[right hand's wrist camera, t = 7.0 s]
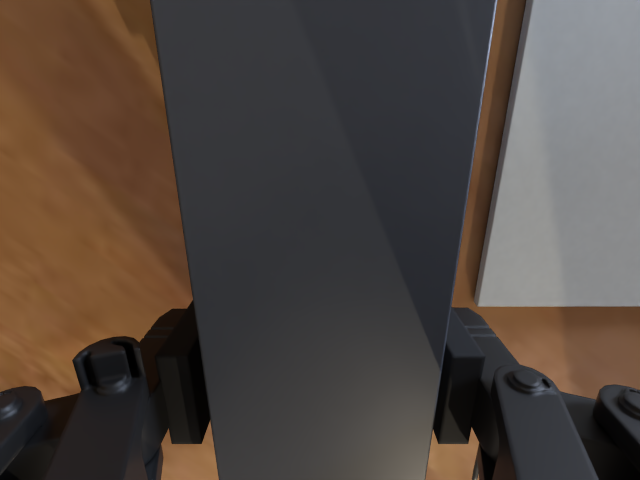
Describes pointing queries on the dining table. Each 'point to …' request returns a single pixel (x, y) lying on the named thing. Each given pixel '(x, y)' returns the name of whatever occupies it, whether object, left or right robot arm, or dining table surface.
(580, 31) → the mat
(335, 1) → the beam
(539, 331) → the dining table surface
